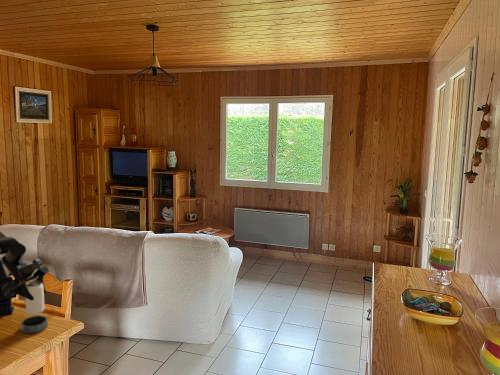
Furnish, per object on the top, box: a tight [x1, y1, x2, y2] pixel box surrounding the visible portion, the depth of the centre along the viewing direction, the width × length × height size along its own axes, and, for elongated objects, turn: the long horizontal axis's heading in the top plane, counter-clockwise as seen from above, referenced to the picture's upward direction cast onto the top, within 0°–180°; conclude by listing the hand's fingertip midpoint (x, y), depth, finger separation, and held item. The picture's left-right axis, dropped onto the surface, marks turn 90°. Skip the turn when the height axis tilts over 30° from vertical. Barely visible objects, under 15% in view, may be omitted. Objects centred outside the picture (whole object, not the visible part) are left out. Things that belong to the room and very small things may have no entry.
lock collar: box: [20, 314, 48, 335], centre depth 151 cm, size 9×9×3 cm
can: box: [24, 280, 45, 316], centre depth 150 cm, size 6×6×12 cm
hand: (39, 296), depth 150 cm, fingers closed on can, 6 cm apart
